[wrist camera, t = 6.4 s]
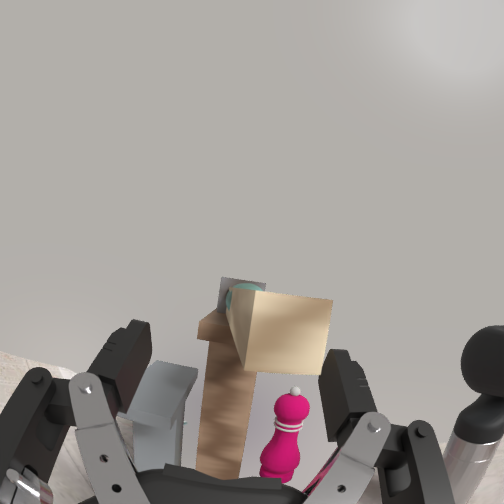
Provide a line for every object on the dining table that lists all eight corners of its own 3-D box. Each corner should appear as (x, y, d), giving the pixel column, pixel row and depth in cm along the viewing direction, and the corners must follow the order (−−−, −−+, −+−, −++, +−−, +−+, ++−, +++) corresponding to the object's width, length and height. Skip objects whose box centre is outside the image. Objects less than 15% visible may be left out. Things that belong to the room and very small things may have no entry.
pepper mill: (251, 467, 40) (268, 380, 43) (285, 463, 42) (304, 379, 45) (264, 488, 34) (286, 395, 36) (301, 482, 36) (326, 392, 38)
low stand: (190, 484, 32) (201, 369, 35) (174, 548, 16) (176, 419, 19) (150, 475, 32) (153, 359, 35) (121, 533, 16) (102, 398, 19)
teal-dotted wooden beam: (255, 314, 34) (260, 283, 35) (342, 375, 10) (358, 277, 10) (216, 309, 34) (221, 277, 34) (216, 367, 9) (232, 258, 10)
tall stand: (235, 491, 32) (265, 314, 36) (234, 556, 16) (283, 333, 20) (193, 485, 32) (213, 307, 36) (178, 548, 16) (192, 320, 20)
